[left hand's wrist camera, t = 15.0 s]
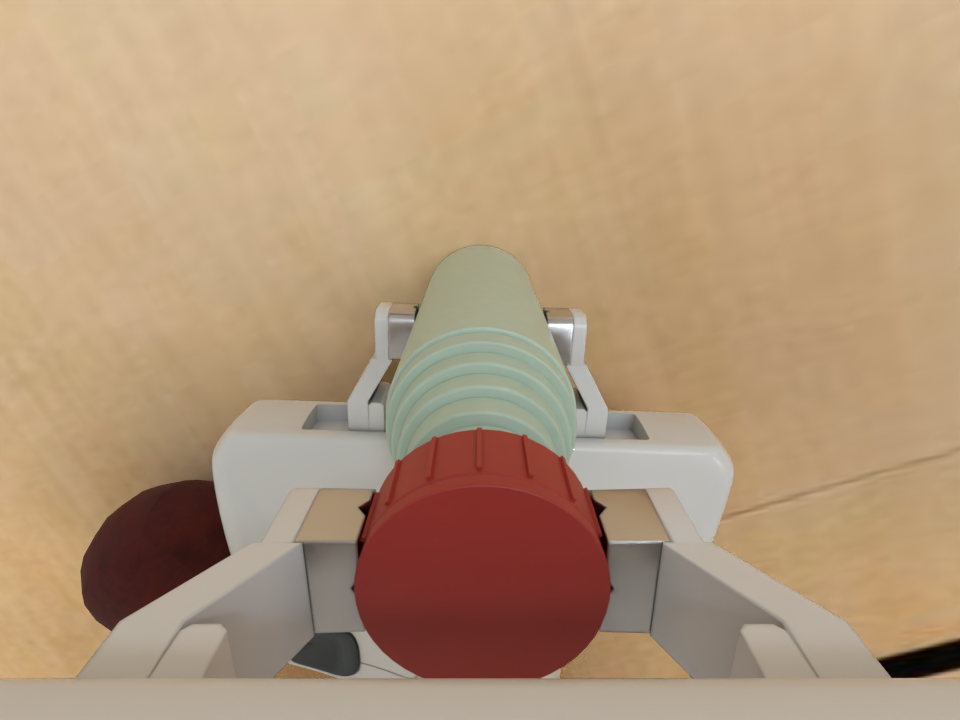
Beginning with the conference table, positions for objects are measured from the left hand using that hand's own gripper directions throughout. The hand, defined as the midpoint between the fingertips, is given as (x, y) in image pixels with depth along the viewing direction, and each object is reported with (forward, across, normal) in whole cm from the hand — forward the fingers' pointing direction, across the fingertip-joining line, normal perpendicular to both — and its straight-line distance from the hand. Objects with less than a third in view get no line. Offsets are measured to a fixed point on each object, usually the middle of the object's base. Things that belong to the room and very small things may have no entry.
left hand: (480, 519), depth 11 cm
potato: (+17, +14, +12) cm, 25 cm away
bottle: (+17, 0, 0) cm, 17 cm away
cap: (-2, 0, 0) cm, 2 cm away
